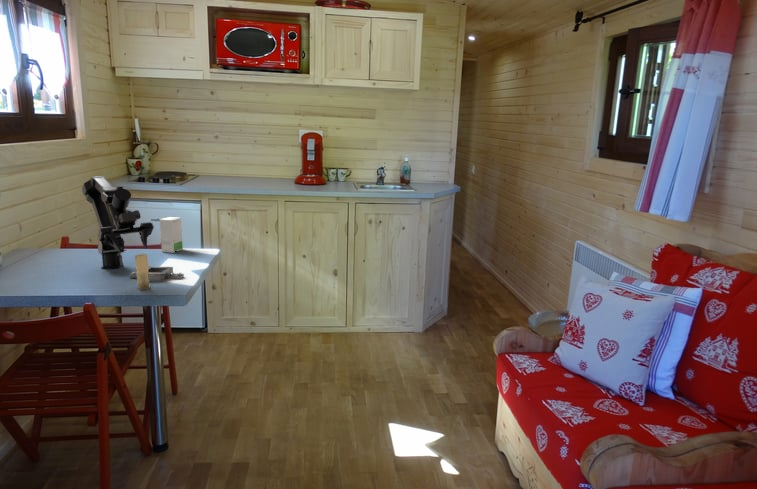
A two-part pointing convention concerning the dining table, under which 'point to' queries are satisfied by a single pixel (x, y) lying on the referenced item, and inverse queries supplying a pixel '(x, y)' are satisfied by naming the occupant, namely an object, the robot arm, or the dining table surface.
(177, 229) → the skincare box
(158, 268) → the chain joint
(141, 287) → the tan wooden block
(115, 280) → the dining table surface
